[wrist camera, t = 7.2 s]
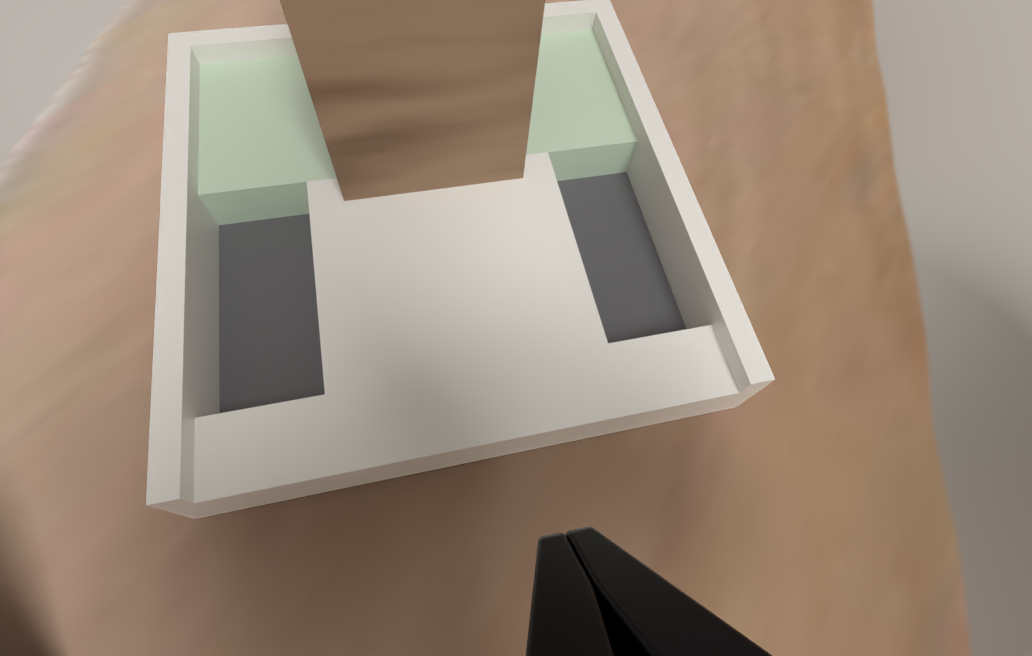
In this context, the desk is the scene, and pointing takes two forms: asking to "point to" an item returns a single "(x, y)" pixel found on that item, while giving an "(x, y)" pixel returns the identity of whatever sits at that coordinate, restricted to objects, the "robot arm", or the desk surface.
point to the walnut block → (419, 89)
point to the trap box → (422, 283)
